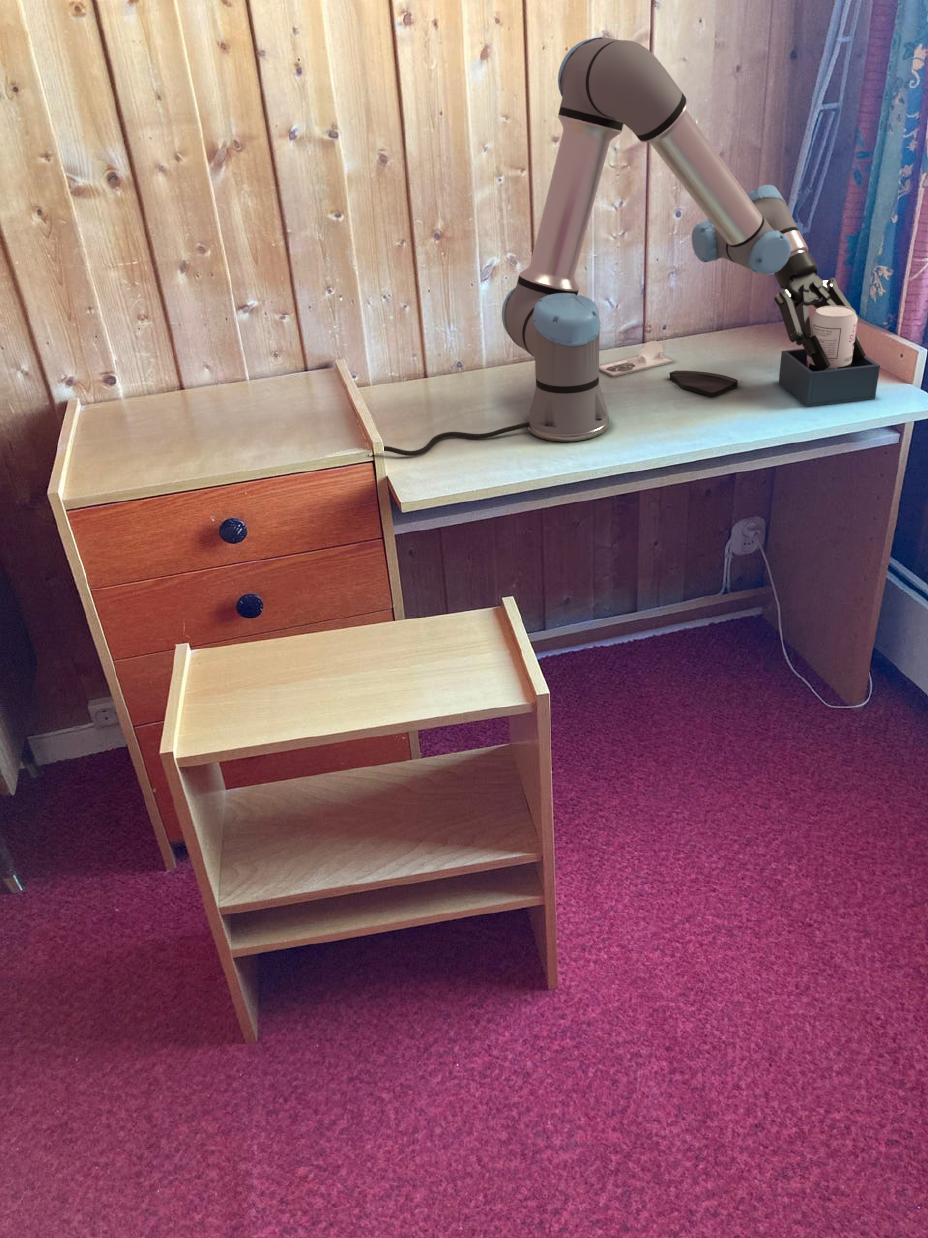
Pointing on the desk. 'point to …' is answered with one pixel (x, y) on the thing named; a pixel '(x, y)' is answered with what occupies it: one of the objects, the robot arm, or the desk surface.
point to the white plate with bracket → (638, 361)
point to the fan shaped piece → (703, 382)
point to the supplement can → (834, 335)
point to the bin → (827, 380)
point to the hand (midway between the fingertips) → (842, 363)
